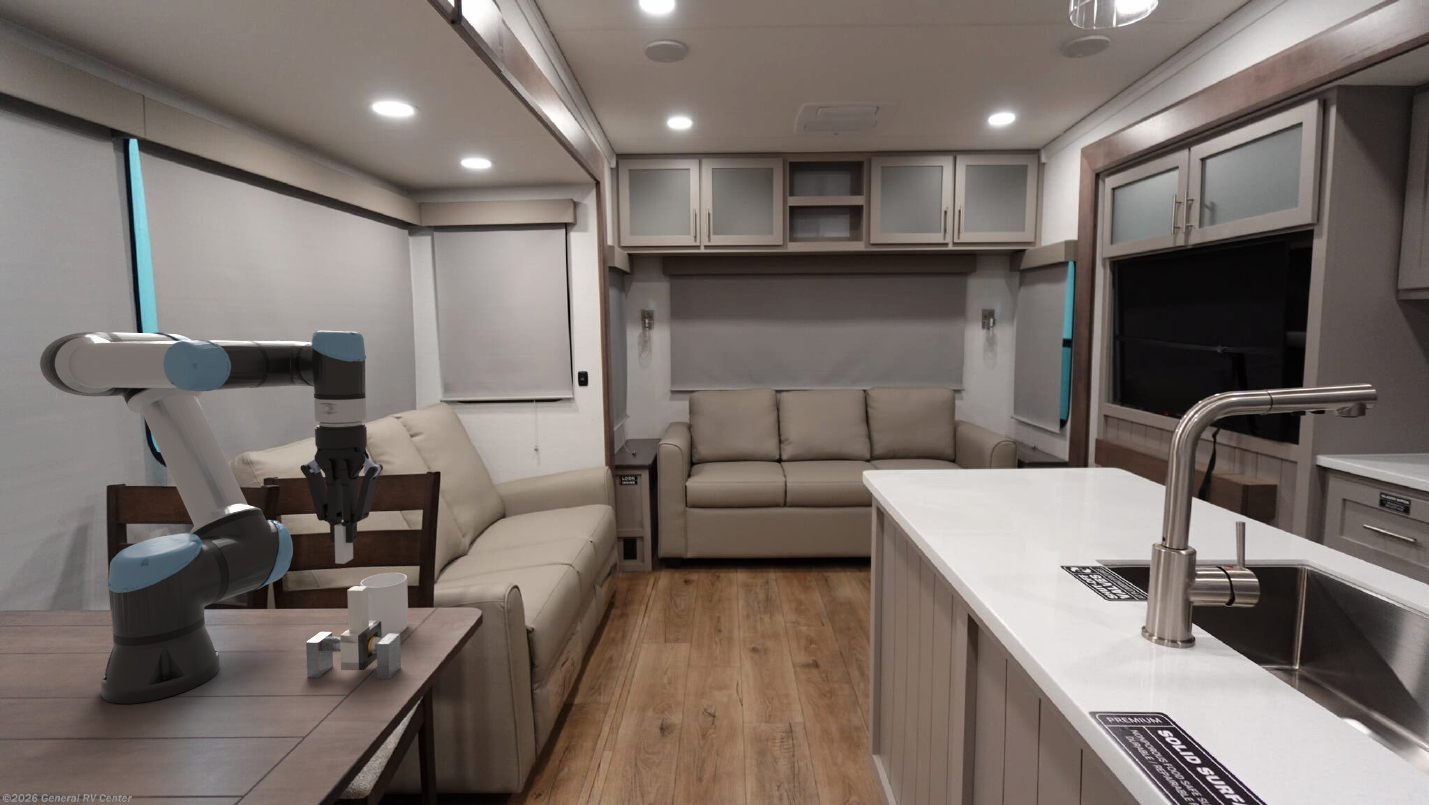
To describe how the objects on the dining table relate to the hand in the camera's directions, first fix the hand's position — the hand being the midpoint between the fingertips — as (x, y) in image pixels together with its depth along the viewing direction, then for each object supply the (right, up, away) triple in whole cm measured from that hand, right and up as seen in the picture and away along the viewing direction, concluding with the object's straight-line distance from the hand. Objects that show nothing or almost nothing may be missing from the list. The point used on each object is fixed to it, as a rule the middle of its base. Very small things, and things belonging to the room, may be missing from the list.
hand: (344, 560), depth 112 cm
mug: (-3, -19, +17) cm, 25 cm away
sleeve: (+2, -18, +1) cm, 18 cm away
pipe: (+1, -20, +2) cm, 20 cm away
